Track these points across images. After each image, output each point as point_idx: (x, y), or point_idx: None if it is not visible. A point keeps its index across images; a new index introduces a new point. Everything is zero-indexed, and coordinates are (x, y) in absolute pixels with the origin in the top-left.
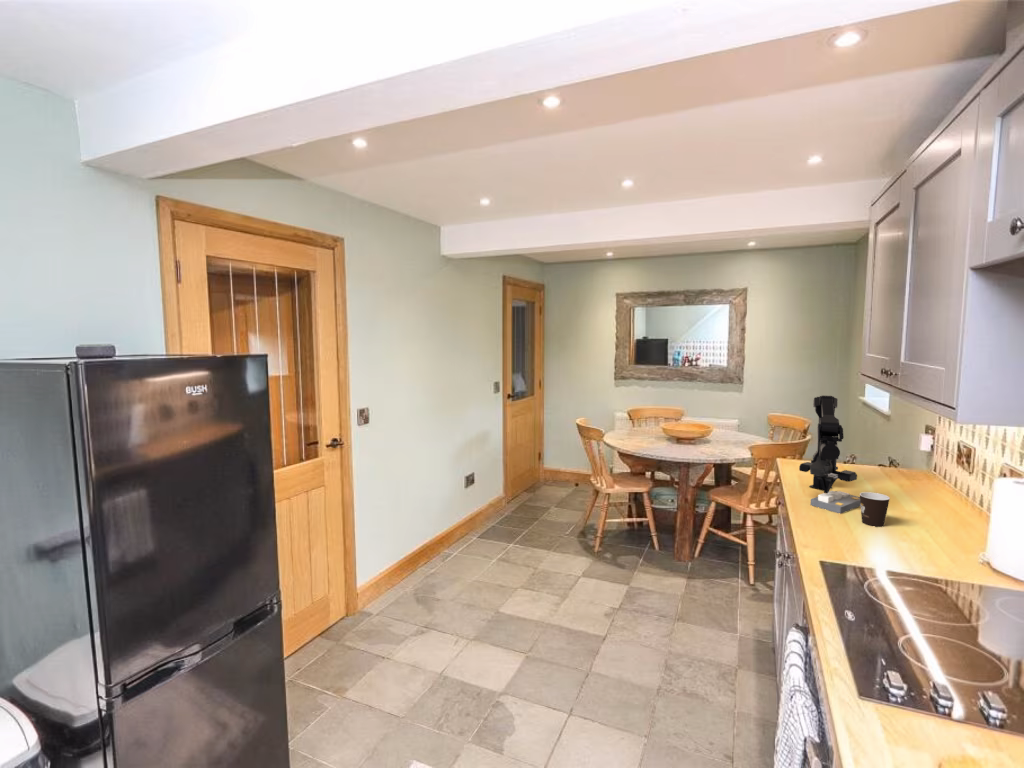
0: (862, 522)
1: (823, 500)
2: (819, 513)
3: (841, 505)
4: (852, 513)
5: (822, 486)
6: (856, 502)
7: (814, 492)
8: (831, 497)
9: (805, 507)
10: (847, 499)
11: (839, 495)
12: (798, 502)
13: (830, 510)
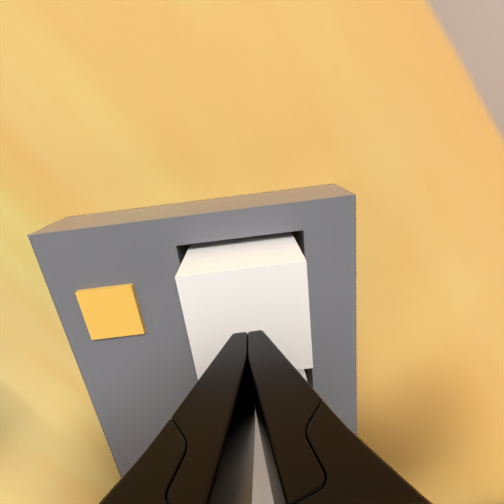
0: None
1: (235, 249)
2: (138, 37)
3: (73, 292)
4: (47, 310)
5: (295, 379)
6: (122, 463)
7: (471, 454)
8: (191, 333)
9: (324, 79)
10: None
11: None
12: (443, 157)
13: (150, 208)
